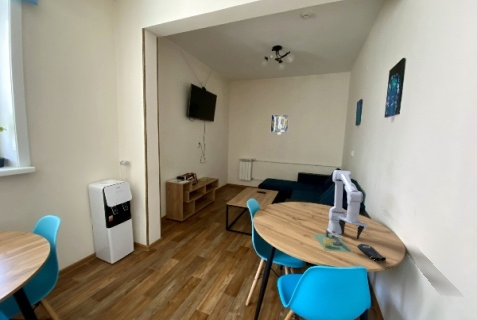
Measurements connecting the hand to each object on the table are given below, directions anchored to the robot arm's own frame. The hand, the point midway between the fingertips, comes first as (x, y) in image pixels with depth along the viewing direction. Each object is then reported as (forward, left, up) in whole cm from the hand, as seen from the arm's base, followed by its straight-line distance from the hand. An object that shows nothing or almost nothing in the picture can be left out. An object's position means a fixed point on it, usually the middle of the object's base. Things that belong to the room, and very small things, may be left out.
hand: (350, 235), depth 112 cm
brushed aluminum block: (-8, -4, -9) cm, 13 cm away
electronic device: (0, +12, -11) cm, 16 cm away
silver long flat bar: (-9, -4, -5) cm, 11 cm away
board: (-8, -6, -10) cm, 14 cm away
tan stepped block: (-3, -9, -9) cm, 13 cm away
